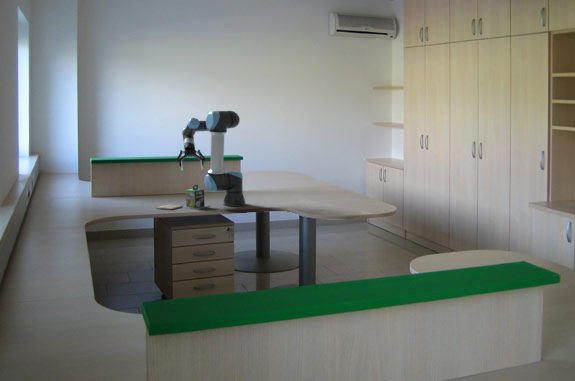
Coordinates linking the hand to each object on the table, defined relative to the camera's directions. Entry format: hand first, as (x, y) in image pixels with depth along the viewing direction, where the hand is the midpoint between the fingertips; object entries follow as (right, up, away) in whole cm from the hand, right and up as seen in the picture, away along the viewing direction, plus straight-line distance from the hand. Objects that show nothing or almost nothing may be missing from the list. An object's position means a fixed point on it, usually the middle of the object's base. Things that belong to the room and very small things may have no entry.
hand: (192, 169), depth 441 cm
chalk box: (+4, -26, -9) cm, 27 cm away
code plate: (+4, -26, -9) cm, 28 cm away
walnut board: (-13, -26, -12) cm, 32 cm away
